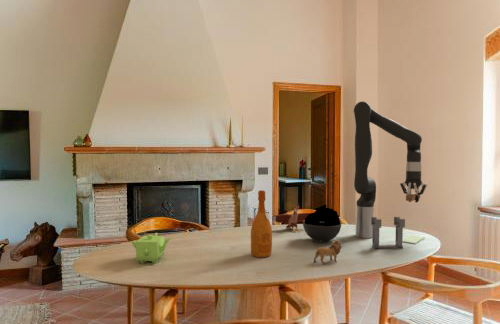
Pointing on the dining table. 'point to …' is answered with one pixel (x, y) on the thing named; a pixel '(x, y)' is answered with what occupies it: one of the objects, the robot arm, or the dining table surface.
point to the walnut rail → (411, 197)
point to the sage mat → (412, 239)
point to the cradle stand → (399, 233)
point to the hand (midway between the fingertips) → (413, 201)
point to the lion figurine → (328, 251)
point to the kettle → (150, 248)
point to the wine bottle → (261, 230)
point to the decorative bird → (291, 218)
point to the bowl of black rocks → (322, 224)
